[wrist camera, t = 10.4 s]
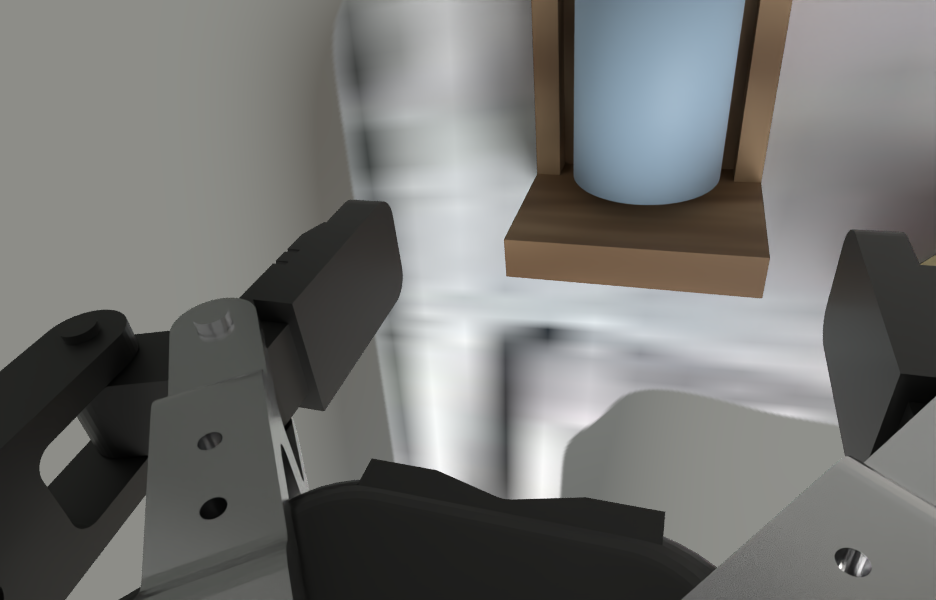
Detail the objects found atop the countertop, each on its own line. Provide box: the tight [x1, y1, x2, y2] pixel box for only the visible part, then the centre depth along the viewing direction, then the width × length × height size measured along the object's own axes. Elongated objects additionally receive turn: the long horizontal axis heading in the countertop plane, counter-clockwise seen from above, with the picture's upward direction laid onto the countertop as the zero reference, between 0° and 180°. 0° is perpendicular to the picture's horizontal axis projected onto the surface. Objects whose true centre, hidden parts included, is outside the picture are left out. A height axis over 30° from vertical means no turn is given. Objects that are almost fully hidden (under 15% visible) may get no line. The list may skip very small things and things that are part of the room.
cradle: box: [504, 0, 792, 298], centre depth 23 cm, size 14×9×8 cm, turn 5°
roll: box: [574, 0, 745, 205], centre depth 23 cm, size 10×6×6 cm, turn 5°
